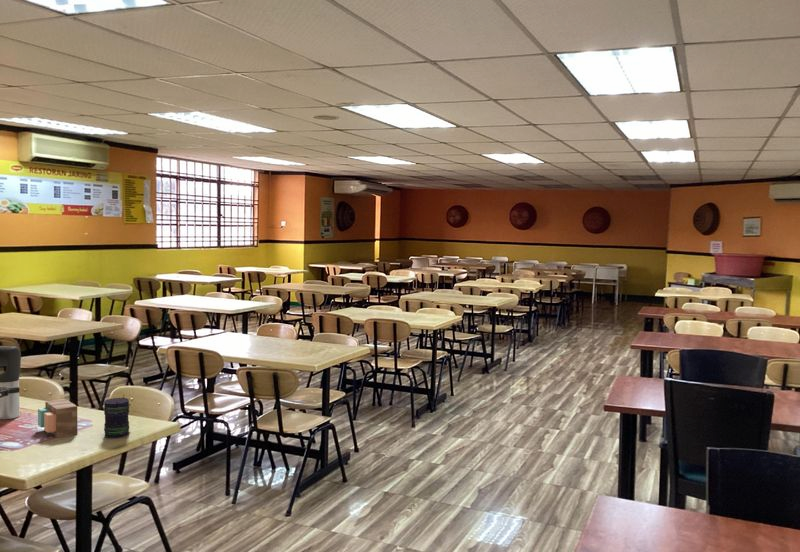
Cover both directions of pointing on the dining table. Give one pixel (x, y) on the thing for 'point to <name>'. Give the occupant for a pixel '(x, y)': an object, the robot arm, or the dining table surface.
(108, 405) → the dark blue barrel
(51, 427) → the terracotta button
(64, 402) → the walnut console
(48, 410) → the grey-green piece
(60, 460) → the dining table surface
